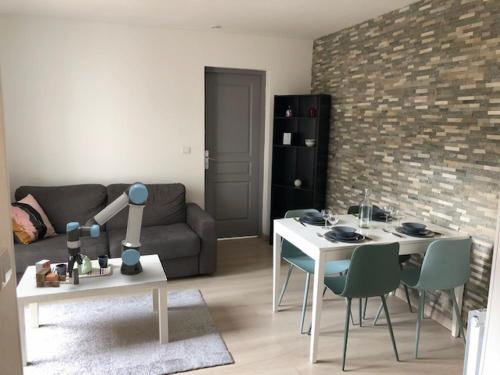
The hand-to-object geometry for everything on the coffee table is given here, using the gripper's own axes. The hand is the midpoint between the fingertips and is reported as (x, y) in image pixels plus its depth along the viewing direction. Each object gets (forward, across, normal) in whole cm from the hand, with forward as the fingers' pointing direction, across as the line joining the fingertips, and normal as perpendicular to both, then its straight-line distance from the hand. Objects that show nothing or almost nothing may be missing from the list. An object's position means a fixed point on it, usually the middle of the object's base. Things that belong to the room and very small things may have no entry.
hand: (75, 278), depth 270 cm
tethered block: (+4, 0, -8) cm, 9 cm away
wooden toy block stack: (+4, 0, -16) cm, 16 cm away
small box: (+4, -13, -27) cm, 30 cm away
